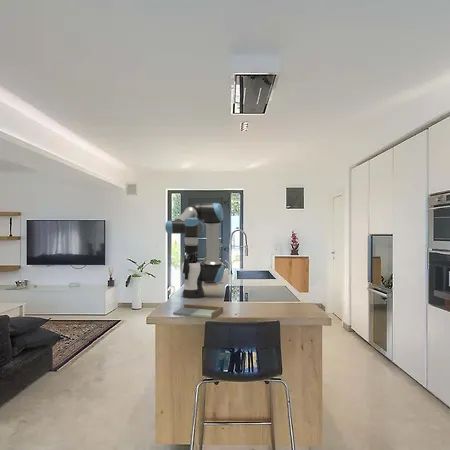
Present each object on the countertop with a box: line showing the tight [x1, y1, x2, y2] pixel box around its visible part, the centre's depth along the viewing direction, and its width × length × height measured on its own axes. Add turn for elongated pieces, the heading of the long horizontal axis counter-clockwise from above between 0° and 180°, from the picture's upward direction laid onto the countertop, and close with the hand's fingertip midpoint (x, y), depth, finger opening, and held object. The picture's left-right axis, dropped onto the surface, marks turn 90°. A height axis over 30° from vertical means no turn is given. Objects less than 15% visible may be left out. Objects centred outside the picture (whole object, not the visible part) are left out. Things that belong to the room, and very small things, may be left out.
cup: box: [181, 261, 200, 290], centre depth 243 cm, size 11×11×15 cm
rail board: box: [172, 303, 224, 319], centre depth 244 cm, size 16×24×3 cm, turn 72°
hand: (190, 283), depth 243 cm, fingers closed on cup, 11 cm apart
